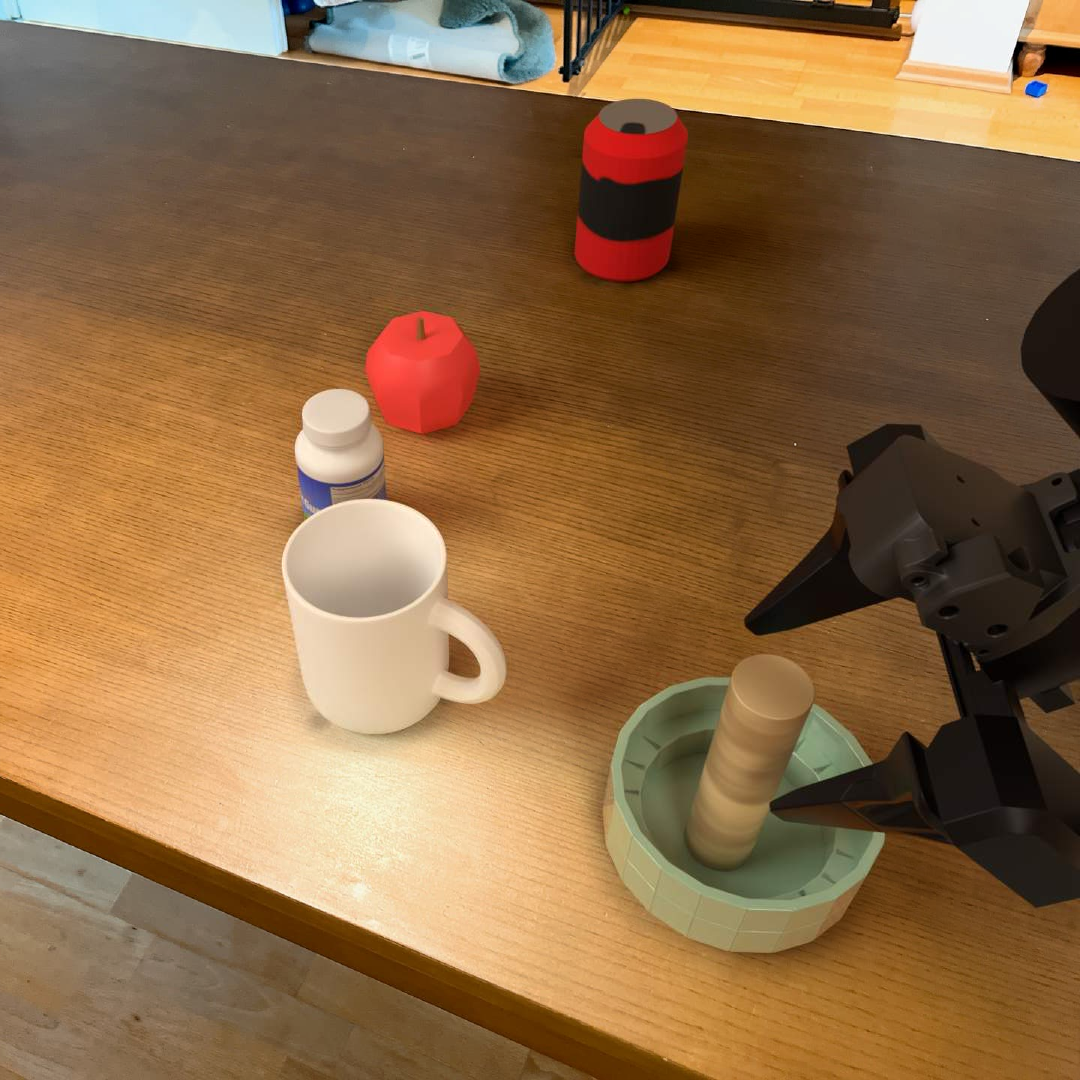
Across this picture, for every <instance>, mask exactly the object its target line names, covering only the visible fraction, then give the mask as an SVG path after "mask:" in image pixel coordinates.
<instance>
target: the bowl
mask: <svg viewBox="0 0 1080 1080" xmlns="http://www.w3.org/2000/svg"><path fill="white" fill-rule="evenodd" d="M730 679H731V676H730V677H728V676H727V677H725V676H723V677H722V676H704V677H699V678H696V679H692V680H687V681H684V682H680V683H676V684H672V685H669V686H668V687H666V688H665V689H663V690H661V691H660V692H659V693H657V694H655V695H653V696H652V697H650V698H649V699H647V700H645V701H644V702H642V703H640V705H638V707H637V708H636V709H635V710H634V711H633V713H632V714H631V716H630V717H629V718H628V720H627V721H626V722H625V724H624V725H623V726H622V728H620V730H619V732H618V736H617V740H616V743H615V746H614V751H613V753H612V758H611V762H610V766H609V772H608V778H607V783H606V789H605V794H604V799H603V805H602V820H603V821H602V822H603V829H604V830H603V831H604V841H605V845H606V846H605V847H606V849H607V851H608V854H609V855H610V858H611V860H612V863H613V865H614V867H615V869H616V872H617V873H618V876H619V878H620V880H621V882H622V883H623V884H624V885H625V887H626V888H627V889H628V890H629V891H630V892H631V894H632V895H633V896H634V898H636V900H637V901H639V903H640V904H641V905H642V906H643V907H644V909H645V910H646V911H647V912H648V913H649V914H650V915H652V916H654V917H655V918H657V919H658V920H660V921H661V922H663V923H664V924H666V925H667V926H668V927H670V928H672V929H673V930H675V932H677V933H679V934H680V935H682V936H684V937H685V938H687V939H689V940H693V941H696V942H699V943H702V944H705V945H708V946H711V947H714V948H716V949H719V950H722V951H726V952H732V953H733V952H735V953H758V954H759V953H760V954H765V953H766V954H774V953H775V954H776V953H778V952H782V951H784V950H788V949H791V948H795V947H798V946H801V945H805V944H808V943H811V942H813V941H814V940H816V939H817V938H819V937H820V936H821V935H823V933H825V932H826V931H827V930H829V929H830V928H831V927H833V926H834V925H835V924H837V923H838V922H839V921H840V920H841V919H842V918H843V916H844V914H845V913H846V911H847V910H848V908H849V906H850V904H851V903H852V902H853V900H854V898H855V896H856V895H857V893H858V892H859V890H860V888H861V886H862V884H863V882H864V881H865V880H866V878H867V876H868V875H869V873H870V871H871V869H872V867H873V865H874V863H875V862H876V860H877V858H878V856H879V854H880V852H881V851H882V849H883V847H884V845H885V841H886V833H883V832H882V833H880V832H871V831H863V830H854V829H845V828H836V827H828V826H819V825H810V824H801V823H792V822H786V821H783V820H781V819H779V818H778V817H776V816H775V815H773V814H772V813H771V812H770V810H769V812H768V815H767V817H766V820H765V822H764V824H763V827H762V829H761V832H760V834H759V837H758V839H757V841H756V844H755V846H754V849H753V851H752V854H751V856H750V858H749V860H748V861H747V862H746V863H745V864H744V865H743V866H741V867H740V868H737V869H735V870H731V871H718V870H713V869H710V868H708V867H706V866H704V865H702V864H701V863H699V862H698V861H697V860H696V859H695V858H694V857H693V856H692V855H691V853H690V852H689V850H688V848H687V846H686V843H685V839H684V831H685V827H686V824H687V820H688V817H689V814H690V811H691V807H692V804H693V801H694V797H695V794H696V791H697V788H698V784H699V781H700V778H701V774H702V771H703V768H704V764H705V761H706V758H707V755H708V751H709V748H710V745H711V741H712V738H713V735H714V732H715V728H716V725H717V722H718V718H719V715H720V712H721V708H722V705H723V702H724V699H725V695H726V692H727V689H728V685H729V682H730ZM871 764H874V763H873V761H872V760H871V759H870V757H869V756H868V754H867V753H866V751H865V750H864V748H863V747H862V745H861V744H860V742H859V741H858V740H857V738H856V736H855V735H854V734H853V733H852V732H851V731H850V730H849V729H847V728H846V727H845V726H844V725H843V724H841V722H840V721H838V720H837V719H836V718H835V717H834V716H832V715H831V714H830V713H829V712H828V711H826V709H824V707H821V706H820V705H818V704H816V703H813V705H812V708H811V710H810V713H809V715H808V718H807V720H806V722H805V725H804V727H803V730H802V732H801V735H800V737H799V739H798V742H797V744H796V747H795V749H794V752H793V754H792V756H791V759H790V761H789V764H788V766H787V769H786V771H785V773H784V776H783V778H782V781H781V783H780V786H779V788H778V790H777V793H776V795H775V798H774V799H776V798H778V797H781V796H783V795H785V794H787V793H789V792H791V791H793V790H795V789H798V788H800V787H803V786H806V785H809V784H813V783H816V782H819V781H822V780H825V779H828V778H831V777H834V776H837V775H840V774H843V773H846V772H850V771H853V770H856V769H859V768H862V767H865V766H868V765H871Z"/></svg>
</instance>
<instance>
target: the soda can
mask: <svg viewBox="0 0 1080 1080" xmlns="http://www.w3.org/2000/svg"><path fill="white" fill-rule="evenodd" d="M688 140H689V132H688V130H687V128H686V126H685V125H684V124H683V122H682V120H681V118H680V117H679V115H678V113H677V111H676V110H675V109H674V107H672V106H670V105H669V104H666V103H665V102H661V101H659V100H655V99H648V98H625V99H621V100H617V101H614V102H611V103H609V104H607V105H605V106H603V108H601V110H600V111H599V112H598V114H597V115H596V116H595V117H594V118H593V119H592V121H590V122H589V123H588V124H587V126H586V127H585V130H584V134H583V147H582V157H581V158H582V159H581V169H580V171H581V172H580V182H579V183H580V184H579V196H578V207H577V218H576V232H575V244H574V257H575V261H576V262H577V263H578V265H579V266H580V267H581V268H582V269H583V270H584V271H585V272H587V273H588V274H590V275H591V276H593V277H596V278H597V279H601V280H604V281H608V282H616V283H629V282H638V281H642V280H645V279H649V278H650V277H653V276H654V275H656V274H657V273H658V272H660V271H661V270H663V268H665V266H666V265H667V264H668V263H669V261H670V255H671V249H672V242H673V238H674V237H673V236H674V229H675V224H676V216H677V211H678V205H679V203H678V202H679V199H680V191H681V185H682V178H683V172H684V167H685V158H686V152H687V145H688Z"/></svg>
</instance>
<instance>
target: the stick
mask: <svg viewBox="0 0 1080 1080" xmlns="http://www.w3.org/2000/svg"><path fill="white" fill-rule="evenodd" d="M730 677H731V679H730V682H729V685H728V689H727V692H726V695H725V699H724V702H723V705H722V708H721V712H720V715H719V718H718V722H717V725H716V728H715V732H714V735H713V738H712V741H711V745H710V748H709V751H708V755H707V758H706V761H705V764H704V768H703V771H702V774H701V778H700V781H699V784H698V788H697V791H696V794H695V797H694V801H693V804H692V807H691V811H690V814H689V817H688V820H687V824H686V827H685V831H684V839H685V843H686V846H687V848H688V850H689V852H690V853H691V855H692V856H693V857H694V858H695V859H696V860H697V861H698V862H699V863H701V864H702V865H704V866H706V867H708V868H710V869H713V870H718V871H731V870H735V869H737V868H740V867H741V866H743V865H744V864H745V863H746V862H747V861H748V860H749V858H750V856H751V854H752V851H753V849H754V846H755V844H756V841H757V839H758V837H759V834H760V832H761V829H762V827H763V824H764V822H765V820H766V817H767V815H768V812H769V810H770V808H769V803H770V802H771V801H772V800H774V798H775V795H776V793H777V790H778V788H779V786H780V783H781V781H782V778H783V776H784V773H785V771H786V769H787V766H788V764H789V761H790V759H791V756H792V754H793V752H794V749H795V747H796V744H797V742H798V739H799V737H800V735H801V732H802V730H803V727H804V725H805V722H806V720H807V718H808V715H809V713H810V710H811V708H812V705H813V703H814V702H815V699H816V688H815V685H814V682H813V680H812V678H811V676H810V675H809V674H808V673H807V671H806V670H805V669H804V668H803V667H802V666H800V665H799V664H798V663H797V662H795V661H793V660H791V659H790V658H787V657H784V656H783V655H778V654H772V653H758V654H754V655H753V654H752V655H751V656H748V657H745V658H744V659H742V660H741V661H739V662H738V664H736V666H734V668H733V670H732V673H731V675H730ZM814 704H815V703H814Z"/></svg>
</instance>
